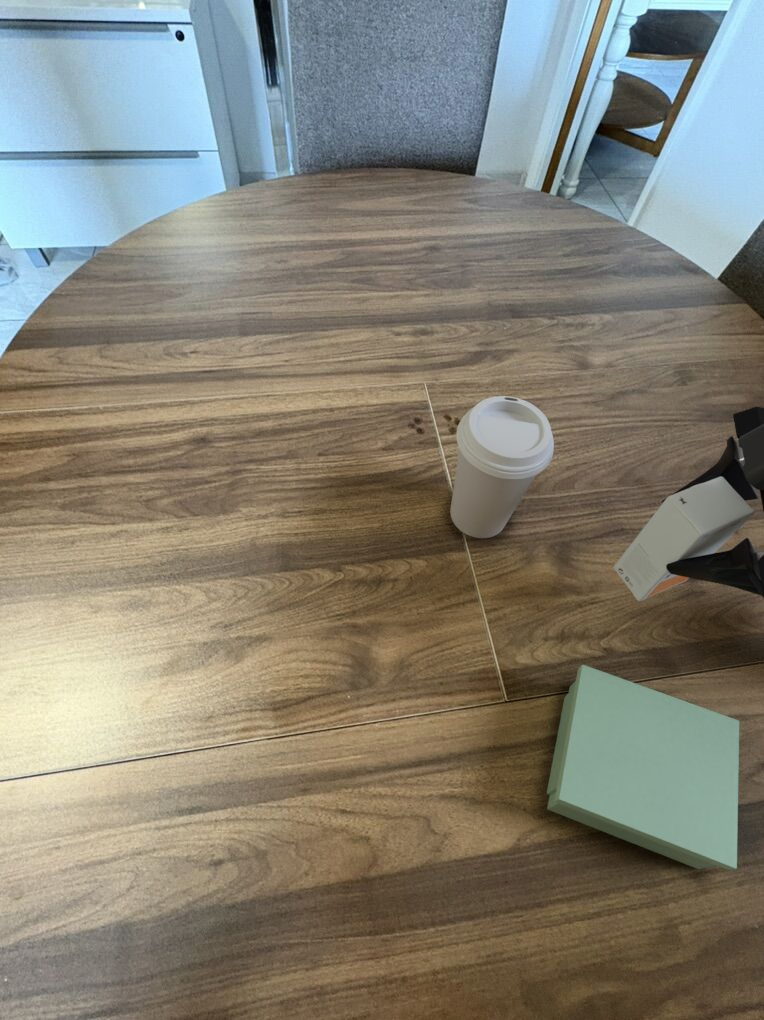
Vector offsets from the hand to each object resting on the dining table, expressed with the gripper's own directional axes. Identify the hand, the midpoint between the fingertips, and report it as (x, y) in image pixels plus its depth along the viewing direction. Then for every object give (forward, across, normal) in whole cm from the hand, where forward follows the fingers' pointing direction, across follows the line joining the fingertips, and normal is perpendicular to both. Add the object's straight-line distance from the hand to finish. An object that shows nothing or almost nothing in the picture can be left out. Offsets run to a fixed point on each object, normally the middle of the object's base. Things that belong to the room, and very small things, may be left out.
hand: (665, 536), depth 54 cm
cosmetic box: (+4, 0, +6) cm, 7 cm away
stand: (+8, +17, +11) cm, 22 cm away
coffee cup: (+20, -8, -1) cm, 22 cm away
